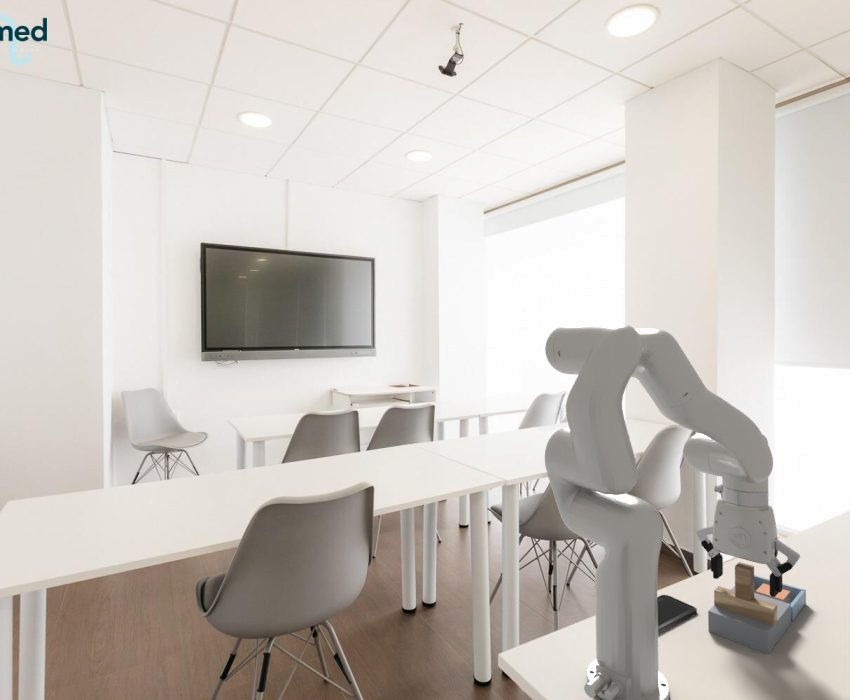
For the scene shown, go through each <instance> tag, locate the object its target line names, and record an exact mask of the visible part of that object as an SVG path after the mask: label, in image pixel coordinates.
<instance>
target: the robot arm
mask: <svg viewBox="0 0 850 700" xmlns="http://www.w3.org/2000/svg"><path fill="white" fill-rule="evenodd" d="M544 351H545V357H546V358H547V361H548V363H549V364H550V366H551V367H552V368H553V369H554V370H556V371H557V372H560V373H562V374H566V375H577V377H576V379H575V381H574V383H573V385H572V386H571V389H570V391H569V393H568V396H567V399H566V402H565V403H566V404H565V414H566V415H565V417H566V420H567V425H568V427H562V428H560V429H558V430H557V431H555V432H554V433H552V435H551V436H550V438H549V439H548V441H547V443H546V447H545V451H544V466H545V470H546V473H547V477H548V480H549V483H550V487H551V490H552V493H553V497H554V500H555V503H556V506H557V508H558V512H559V515H560V517H561V520H562V521H563V523H564V524H565V526H566V527H567V528H568V529H569V531H571V532H572V533H574V534H575V535H577V536H579V537H582V538H583V539H586V540H588V541H590V542H592V543H594V544H596V545H598V546H599V547H602V548H603V549H604V556H603V558H602V560H601V561H600V562H599V563H598V566H597V568H596V570H595V574H594V575H595V576H594V589H595V590H594V591H595V639H596V640H595V642H596V643H595V644H596V645H595V647H596V649H595V650H596V651H595V652H596V659H595V660H594V659H593V661H592V662H590V664H589V665H588V666H587V667H588V668H587V670H586V675H587V676H586V680H587V683H585V685H584V686H583V687H584V688H583V689H584V692H585V694H586V695H587V696H588V697H589V698H591V699H592V698H595V697H596V696H597V697H598V698H599V699H601V700H669V698H670V685H669V683H668V680H667V679H666V678H665V676H664V675H663V673H661V672H660V671H659V634H658V606H657V597H658V570H659V569H658V568H659V567H658V566H659V558H660V553H661V548H662V543H663V538H664V530H665V529H664V528H665V527H664V521H663V519H662V516H661V514H660V513H659V511H658V510H657V509H656V508H655V506H653V504H651V503H649V502H648V501H646V500H644V499H642V498H640V497H638V496H635V495H632V494H629V493H630V492H631V491H632V490H633V488H634V487H635V486H636V484H637V480H638V468H637V462H636V457H635V453H634V449H633V447H632V442H631V440H630V436H629V431H628V428H627V424H626V421H625V417H624V411H623V410H624V409H623V396H624V393H625V390H626V388H627V386H628V383H629V382H630V380H631V378H635V379H636V380H638V381H639V383H640V384H641V386H642V387H643V389H644V390H645V391H646V393H647V394H648V396H649V397H650V398H651V400H652V402H653V403H654V405H655V406H656V407H657V409H658V410H659V412H660V413H661V414H662V416H664V417H665V418H667V419H668V420H669V421H671V422H674V423H675V424H677V425H679V426H681V427H684V428H685V429H687V430H690V431H692V432H696V433H695V434H694V435H692V436H690V437H689V438H687V440H686V442H685V443H684V445H683V449H682V455H683V458H684V462H686V464H687V465H688V466H689V467H690V468H692V469H694V470H696V471H698V472H701V473H704V474H707V475H713V476H716V477H722V478H721V485H718V484H715V485H714V488H713V489H714V492H715V493H718V494H720V497H721V498H718V499H717V500H716V505H715V510H714V517H713V525H712V526H708V527H703V528H699V529H697V530H696V535H697V537H698V539H699V541H700V544H701V546H702V548H704V550H705V551H706V552H707V555H708V556H709V558H710V571H711V572H712V577H713V579H715V580H717V579H719V578H720V577H722V576H723V574H724V572H723V571H724V570H723V569H724V558H723V554H724V555H727V556H731V557H734V558H738V559H742V560H746V561H749V562H752V563H757V564H759V565H760V564H762V565H766V566H767V567H768V569H769V570H770V571H771V573H770V575H769V580H770V595H771V596H772V597H775V596H776V595H777V594H778V593H779V592H781V591H782V583H783V575H784V574H785V573H787V572H789V571H790V570H792V569H793V568H794V567H795V565H796V564H797V563H798V562H799V560H800V558H801V555H800V554H799V553H798V552H797V551H795V550H794V549H792V548H791V547H790V546H789V545H787V544H785V543H783V542H782V541H780V540H778V530H777V529H778V528H777V523H776V519H775V513H774V510H773V506H771V505H769V477H770V475H771V474H772V471H773V467H774V457H773V454H772V450H771V448H770V446H769V441H768V439H767V436H765V435H764V434H763V433H762V431H761V430H760V428H759V427H758V426H757V425H756V423H755V422H754V421H753V420H752V419H751V418H750V417H749V416H748V415H747V414H745V413H744V412H742V411H741V410H740V409H738V408H737V407H735V406H734V405H732V404H731V403H729V402H728V401H726V400H725V399H724V398H722V397H720V396H719V395H717V394H715V393H714V392H712V391H710V390H709V389H708V388H707V386H705V384H704V382H703V380H702V378H701V377H700V375H698V373H697V371H696V370H695V368H694V366H693V365H692V363H691V362H690V360H689V358H688V357H687V355H686V354H685V352H684V350H683V349H682V347H681V346H680V344H679V342H678V341H677V340H676V338H675V337H674V336H673V335H672V334H671V333H670V332H668V331H666V330H663V329H661V328H660V329H659V328H634V327H632V326H630V325H627V324H625V323H619V322H595V323H593V322H592V323H579V324H578V323H577V324H576V323H575V324H564V325H561V326H559V327H557V328H556V329H554V330H552V332H551V333H550V334H549V336H548V337H547V339H546V343H545V348H544ZM708 535H712V539H711V540H712V542H711V540H710V539H709V538H708ZM779 552H780V553H781V554H782V555H784V556H786V558H787V560H786V561H785V562H782V563H781V561H780V560H779V559H778V558H777V557H778V554H779Z"/></svg>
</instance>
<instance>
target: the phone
mask: <svg viewBox="0 0 850 700" xmlns="http://www.w3.org/2000/svg"><path fill="white" fill-rule="evenodd" d="M657 606H658V635H661V634H662V633H665V632H666V631H668V630H670V629H671V628H673V627H675V626H677V625H679V624H681V623H682V622H685V621H686V620H688V619H690V618H692V617H694V616H695V615H697V613H698V609H697V607H695V606H693V605H691V604H689V603H686V602H684V601H683V600H682V601H681V600H680V599H677V598H675V597H672V596H670V595H668V594H662V595H659V596H657ZM693 615H694V616H693Z"/></svg>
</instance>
